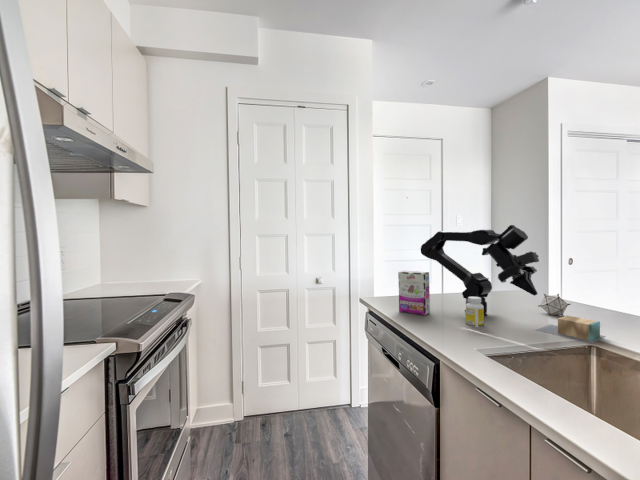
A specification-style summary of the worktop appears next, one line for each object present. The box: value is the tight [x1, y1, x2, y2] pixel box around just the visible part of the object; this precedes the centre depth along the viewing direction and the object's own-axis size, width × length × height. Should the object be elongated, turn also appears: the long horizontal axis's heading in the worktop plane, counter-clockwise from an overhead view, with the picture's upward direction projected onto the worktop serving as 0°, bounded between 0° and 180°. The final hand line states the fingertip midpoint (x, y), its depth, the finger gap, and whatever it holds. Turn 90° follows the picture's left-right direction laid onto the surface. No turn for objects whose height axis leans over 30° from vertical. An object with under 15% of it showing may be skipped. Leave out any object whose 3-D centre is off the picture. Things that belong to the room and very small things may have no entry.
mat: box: [535, 324, 606, 344], centre depth 93 cm, size 14×10×1 cm
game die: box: [538, 293, 572, 317], centre depth 113 cm, size 9×8×10 cm
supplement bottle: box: [465, 297, 485, 328], centre depth 103 cm, size 5×5×10 cm
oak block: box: [557, 315, 601, 341], centre depth 91 cm, size 4×6×8 cm
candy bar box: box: [397, 270, 431, 316], centre depth 122 cm, size 11×5×16 cm, turn 49°
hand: (536, 294), depth 101 cm, fingers closed
